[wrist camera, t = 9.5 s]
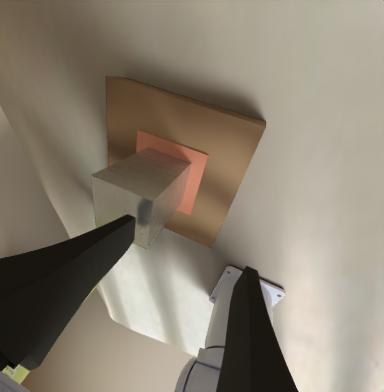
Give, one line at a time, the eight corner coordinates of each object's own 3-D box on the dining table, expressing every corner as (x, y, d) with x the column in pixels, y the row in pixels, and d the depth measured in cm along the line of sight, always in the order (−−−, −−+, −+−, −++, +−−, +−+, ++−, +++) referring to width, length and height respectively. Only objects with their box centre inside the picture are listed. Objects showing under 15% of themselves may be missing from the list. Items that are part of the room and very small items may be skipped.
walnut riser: (216, 234, 23) (211, 249, 21) (122, 194, 26) (108, 204, 23) (266, 121, 16) (265, 127, 13) (124, 77, 18) (104, 76, 16)
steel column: (182, 201, 19) (146, 249, 14) (144, 186, 20) (95, 225, 14) (191, 163, 17) (152, 201, 11) (148, 147, 17) (90, 175, 12)
